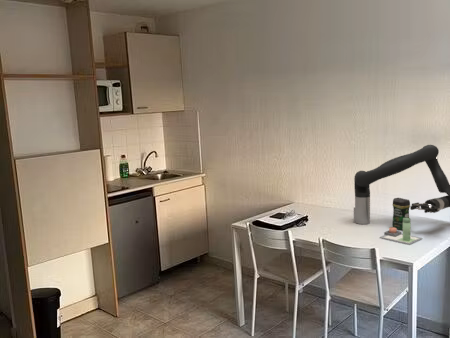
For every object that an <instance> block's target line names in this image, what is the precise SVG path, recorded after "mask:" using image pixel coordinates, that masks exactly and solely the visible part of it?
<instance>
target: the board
mask: <svg viewBox="0 0 450 338" xmlns="http://www.w3.org/2000/svg"><path fill="white" fill-rule="evenodd" d="M383 233H384V234H383V235H381V236H380V237H379V239H381V240H386V241H390V242H395V243H399V244H403V245H408V246H410V245H413V244H415V243H417V242H419V241H422V240H423V237H419V236H414V235H411V240H410V241H405V240H403V231H399V230H397V233H389V230H387V231H384V232H383Z"/></svg>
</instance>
